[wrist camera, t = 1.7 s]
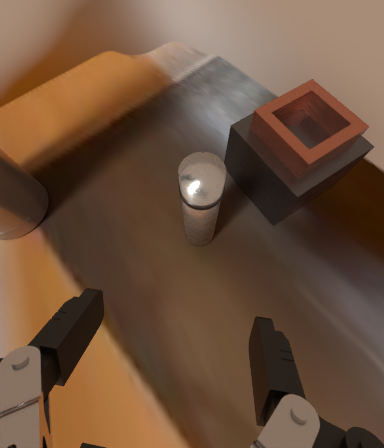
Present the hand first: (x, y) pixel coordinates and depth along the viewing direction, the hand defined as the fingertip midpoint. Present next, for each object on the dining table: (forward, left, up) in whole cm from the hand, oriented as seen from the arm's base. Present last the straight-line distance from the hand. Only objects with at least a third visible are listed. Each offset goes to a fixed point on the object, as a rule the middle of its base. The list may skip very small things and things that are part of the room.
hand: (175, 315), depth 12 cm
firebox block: (-9, +21, -16) cm, 28 cm away
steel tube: (-8, +7, -16) cm, 19 cm away
